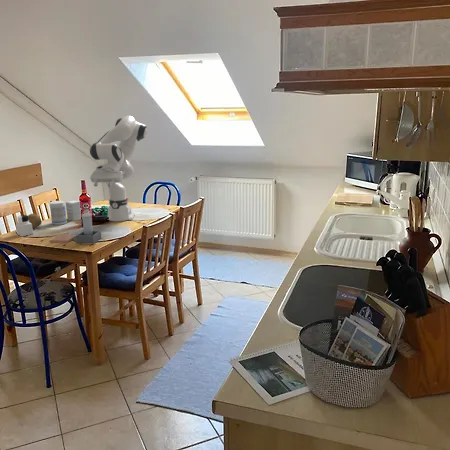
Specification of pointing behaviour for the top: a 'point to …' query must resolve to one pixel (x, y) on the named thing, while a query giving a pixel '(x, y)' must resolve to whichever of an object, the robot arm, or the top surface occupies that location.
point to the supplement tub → (58, 212)
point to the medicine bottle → (24, 226)
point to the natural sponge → (34, 220)
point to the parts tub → (88, 237)
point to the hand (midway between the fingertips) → (102, 185)
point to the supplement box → (73, 210)
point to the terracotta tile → (63, 238)
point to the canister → (87, 224)
